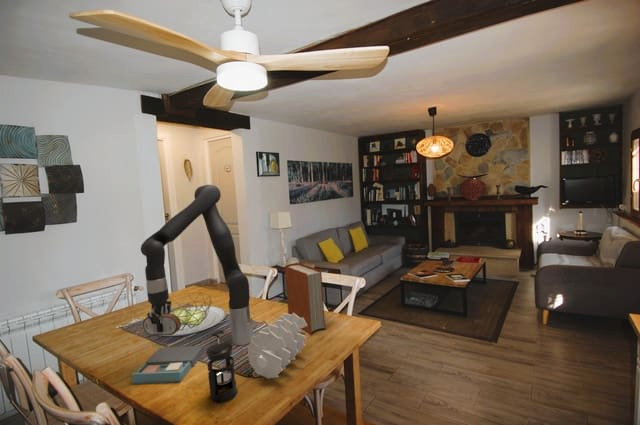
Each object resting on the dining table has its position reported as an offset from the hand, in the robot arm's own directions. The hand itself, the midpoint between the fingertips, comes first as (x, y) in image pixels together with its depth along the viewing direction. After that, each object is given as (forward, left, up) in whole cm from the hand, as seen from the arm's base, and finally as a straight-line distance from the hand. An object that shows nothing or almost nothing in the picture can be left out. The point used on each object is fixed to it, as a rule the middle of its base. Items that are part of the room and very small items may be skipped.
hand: (162, 330), depth 136 cm
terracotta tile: (+4, +5, -16) cm, 17 cm away
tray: (0, +4, -17) cm, 17 cm away
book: (-54, -36, -17) cm, 67 cm away
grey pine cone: (-47, 0, -17) cm, 50 cm away
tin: (0, 0, -2) cm, 2 cm away
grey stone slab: (0, -7, -17) cm, 18 cm away
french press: (-29, +18, -17) cm, 39 cm away
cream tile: (-5, +4, -16) cm, 17 cm away
